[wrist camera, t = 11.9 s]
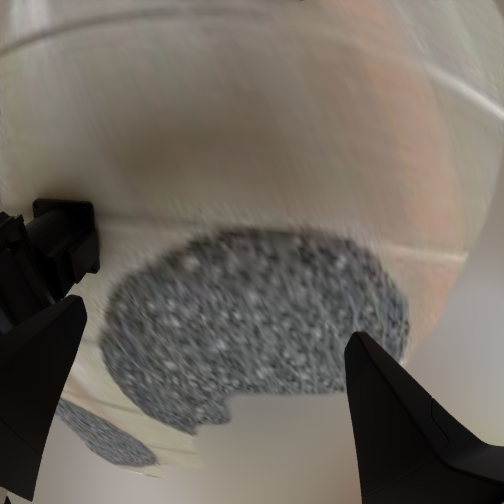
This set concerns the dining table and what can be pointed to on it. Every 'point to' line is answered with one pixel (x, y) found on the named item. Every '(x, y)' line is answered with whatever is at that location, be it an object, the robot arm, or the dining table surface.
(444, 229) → the dining table surface
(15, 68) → the dining table surface
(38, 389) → the robot arm
